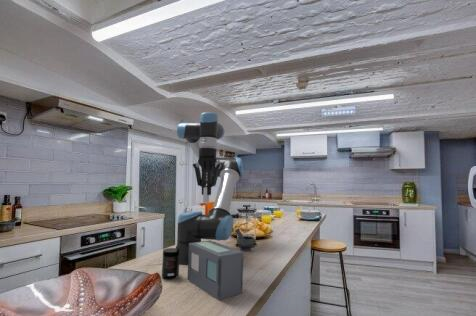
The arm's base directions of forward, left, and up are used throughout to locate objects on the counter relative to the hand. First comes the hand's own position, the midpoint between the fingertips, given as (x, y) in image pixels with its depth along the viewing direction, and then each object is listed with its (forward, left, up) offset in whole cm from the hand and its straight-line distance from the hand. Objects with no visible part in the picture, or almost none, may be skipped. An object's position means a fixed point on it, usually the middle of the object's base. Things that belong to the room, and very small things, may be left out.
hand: (206, 202), depth 116 cm
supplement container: (-11, -8, -30) cm, 33 cm away
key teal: (+13, -16, -24) cm, 32 cm away
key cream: (+3, -9, -24) cm, 26 cm away
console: (+9, -11, -29) cm, 33 cm away
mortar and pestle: (+5, +44, -30) cm, 53 cm away
